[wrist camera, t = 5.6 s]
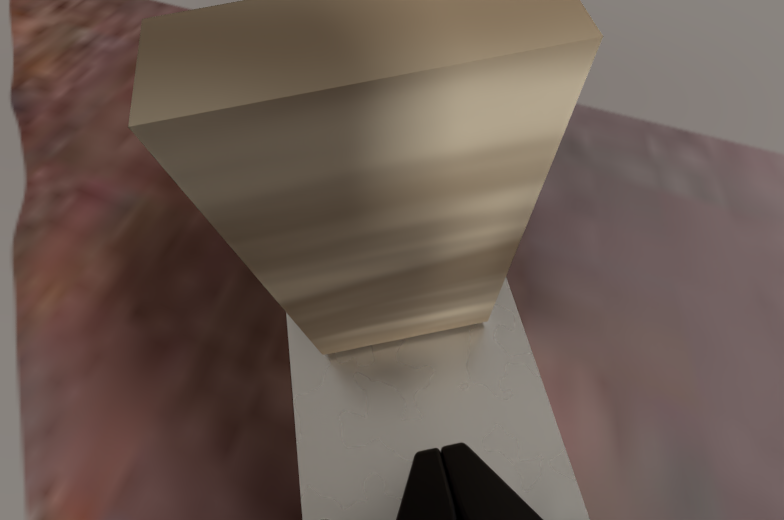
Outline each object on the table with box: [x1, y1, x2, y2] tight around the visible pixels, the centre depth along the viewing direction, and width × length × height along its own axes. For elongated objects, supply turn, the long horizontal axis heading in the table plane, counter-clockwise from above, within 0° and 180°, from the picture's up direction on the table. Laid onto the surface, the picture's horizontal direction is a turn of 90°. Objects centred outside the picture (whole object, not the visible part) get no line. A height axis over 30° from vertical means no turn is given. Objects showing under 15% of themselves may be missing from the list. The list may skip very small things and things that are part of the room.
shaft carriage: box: [128, 0, 603, 355], centre depth 14 cm, size 8×7×13 cm
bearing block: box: [286, 277, 590, 520], centre depth 14 cm, size 15×10×10 cm
